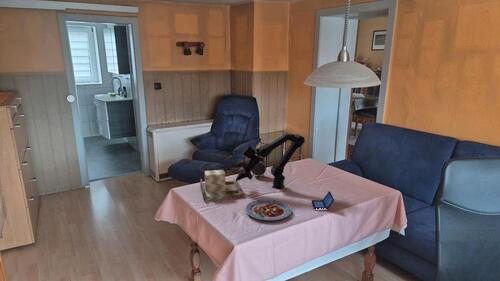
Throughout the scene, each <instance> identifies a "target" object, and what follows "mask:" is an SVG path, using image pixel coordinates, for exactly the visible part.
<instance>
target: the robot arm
mask: <svg viewBox="0 0 500 281" xmlns="http://www.w3.org/2000/svg"><path fill="white" fill-rule="evenodd" d="M288 141H290V144H289V146H288V148H287V150H286V151H285V153H284V154H283V155H282V157H281V158H280V160H279V162H277V163H275V162H274V163H273V165H272V167H270V174H271V175H272V176H273V180H272V186H271V188H273V189H278V190H282V189H283V188H285V187H286V186H285V179H286V177H285V175H283V173H284V170H285V167H286V165H287V163H288V162H289V161H290V160H291V158H292V156H293V155H294V153H295V152H296V151H297V150H298V149H299V148H301V147H302V146H303V145H304V143H305V141H306V140H305V137H304V136H303V135H302V134H298V133H296V134H294V133H293V134H292V133H289V132H285V133H284V134H283V135H281V136H279V137H277V139H274V140H273V141H272V142H270V143H267V144H264V145H261V146H259V147H258V148H253V147H252V146H251V145H249V144H248V146H245V147H244V148H242V150H241V154H242V155H243V156H245V157H246V158H247V160H244V159H241V158H238V159H237V160H236V165H237V166H238V167H240V168H239V169H238V170H239V172H238V173H237V176H236V178H235V181H238V182H239V181H241V180H243V179H245V178H247V179H249V180H252V179H253V176H254V175H253V173H252V170H253V169H255V166H256V165H257V164H258V163H259V162H260V161H262V162H263V163H264V160H265V158H267V157H268V156H269V155H271V153H272V152H273V151H274V150H275V149H277V148H278V147H280V146H282V145H283V144H284V143H286V142H288ZM248 159H249V160H248Z"/></svg>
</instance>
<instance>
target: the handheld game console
mask: <svg viewBox="0 0 500 281" xmlns="http://www.w3.org/2000/svg"><path fill="white" fill-rule="evenodd" d="M331 192H332V191H328V192H327V193H326V195H324V198H322V199H312V200H311V204H312V207H313V210H314V209H316V208H317V209H319V208H321V209H322V208H323V209H324V208H326V209H329V208H330V207H331V205H332V204H333V203H334V201H335V199H334V196H333V195H332V193H331Z"/></svg>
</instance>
